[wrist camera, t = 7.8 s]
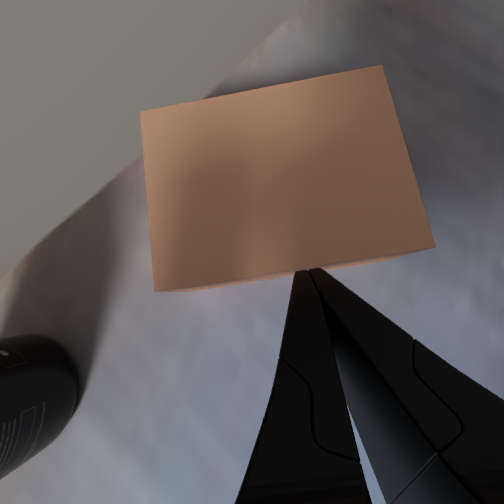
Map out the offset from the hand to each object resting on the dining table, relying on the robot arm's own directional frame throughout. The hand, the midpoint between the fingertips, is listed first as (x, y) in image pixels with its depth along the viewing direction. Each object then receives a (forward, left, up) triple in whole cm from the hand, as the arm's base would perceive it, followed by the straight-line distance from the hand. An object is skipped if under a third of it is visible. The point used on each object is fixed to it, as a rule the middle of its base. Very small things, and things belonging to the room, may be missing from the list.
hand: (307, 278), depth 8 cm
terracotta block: (+1, 0, -5) cm, 5 cm away
